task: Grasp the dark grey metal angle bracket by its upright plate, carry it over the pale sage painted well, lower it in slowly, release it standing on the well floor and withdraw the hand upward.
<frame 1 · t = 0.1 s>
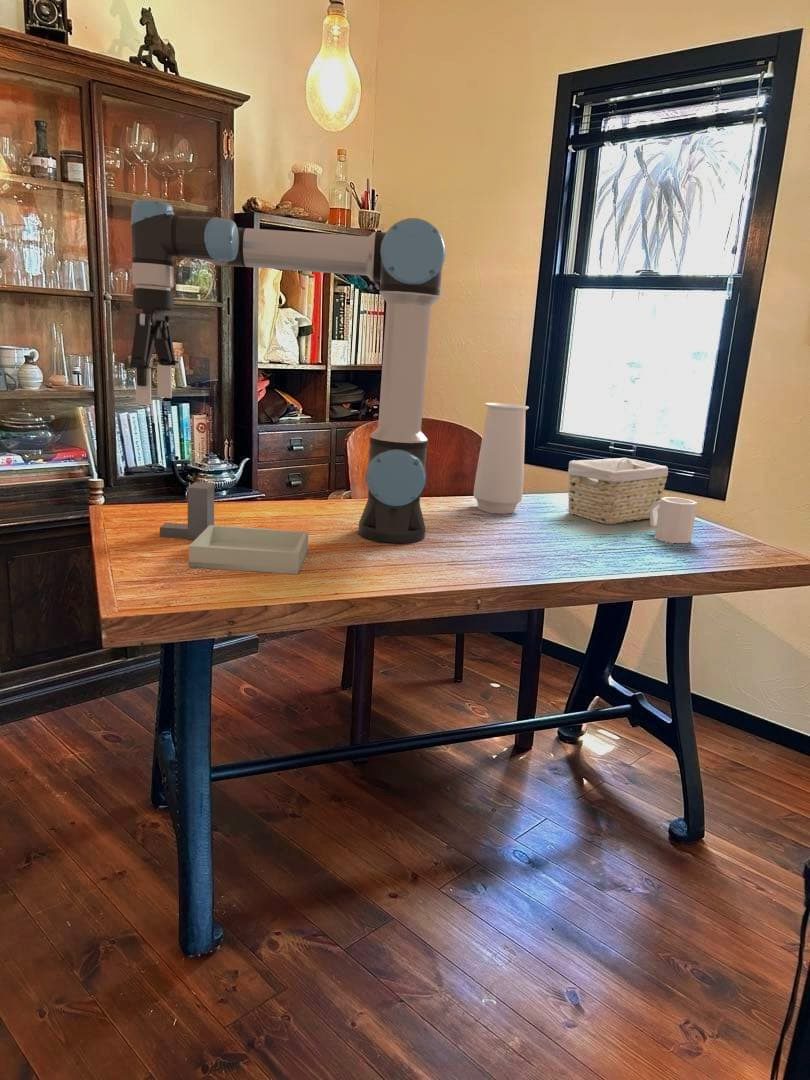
hand: (154, 400, 153), 28 cm above the table, fingers open, 13 cm apart
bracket: (201, 536, 162), on the table
mug: (665, 538, 190), on the table
vase: (496, 510, 208), on the table
storage basket: (611, 517, 210), on the table
well: (251, 558, 149), on the table
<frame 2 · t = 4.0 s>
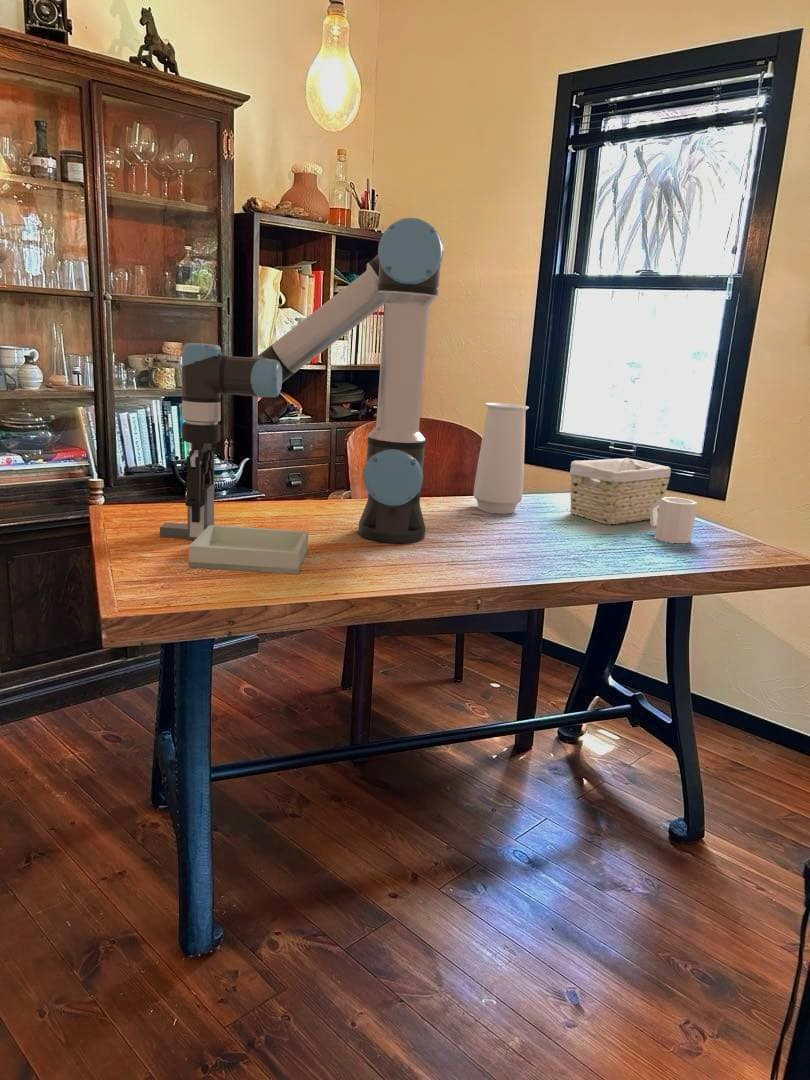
hand: (201, 532, 161), 1 cm above the table, fingers closed on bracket, 6 cm apart
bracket: (201, 536, 162), on the table, touching gripper
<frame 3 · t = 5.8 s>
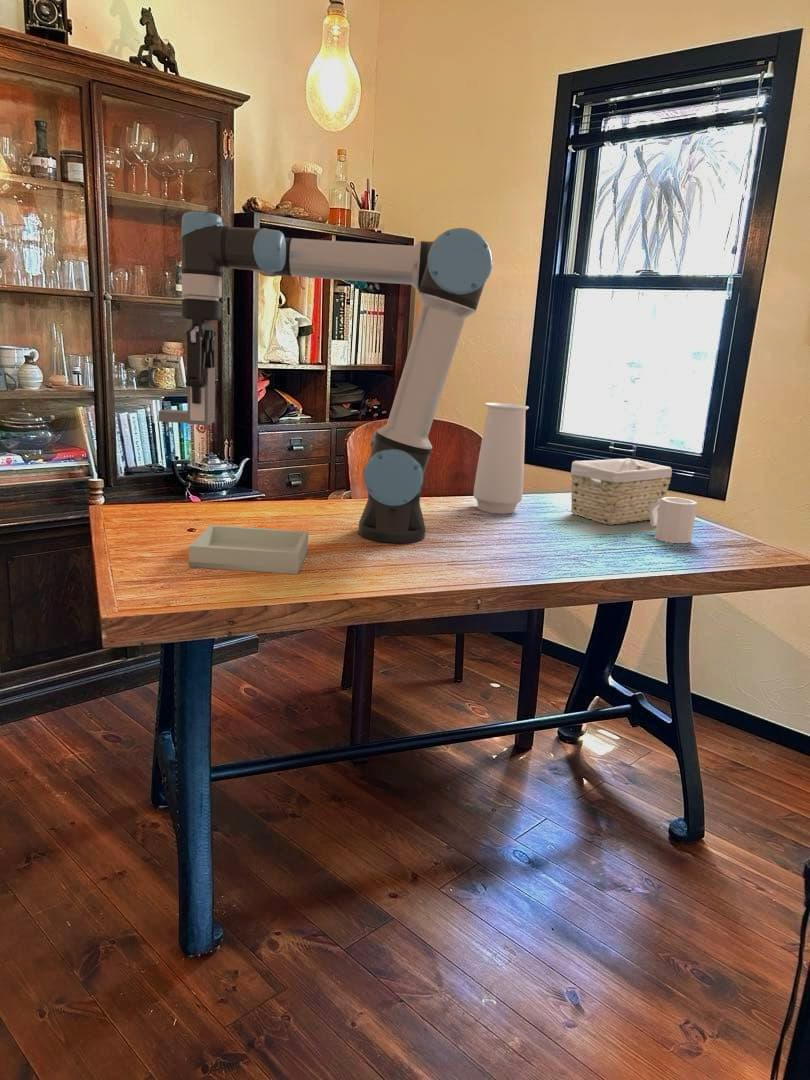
hand: (201, 418, 155), 25 cm above the table, fingers closed on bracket, 6 cm apart
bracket: (201, 422, 155), point 24 cm above the table, touching gripper
everything else where it was.
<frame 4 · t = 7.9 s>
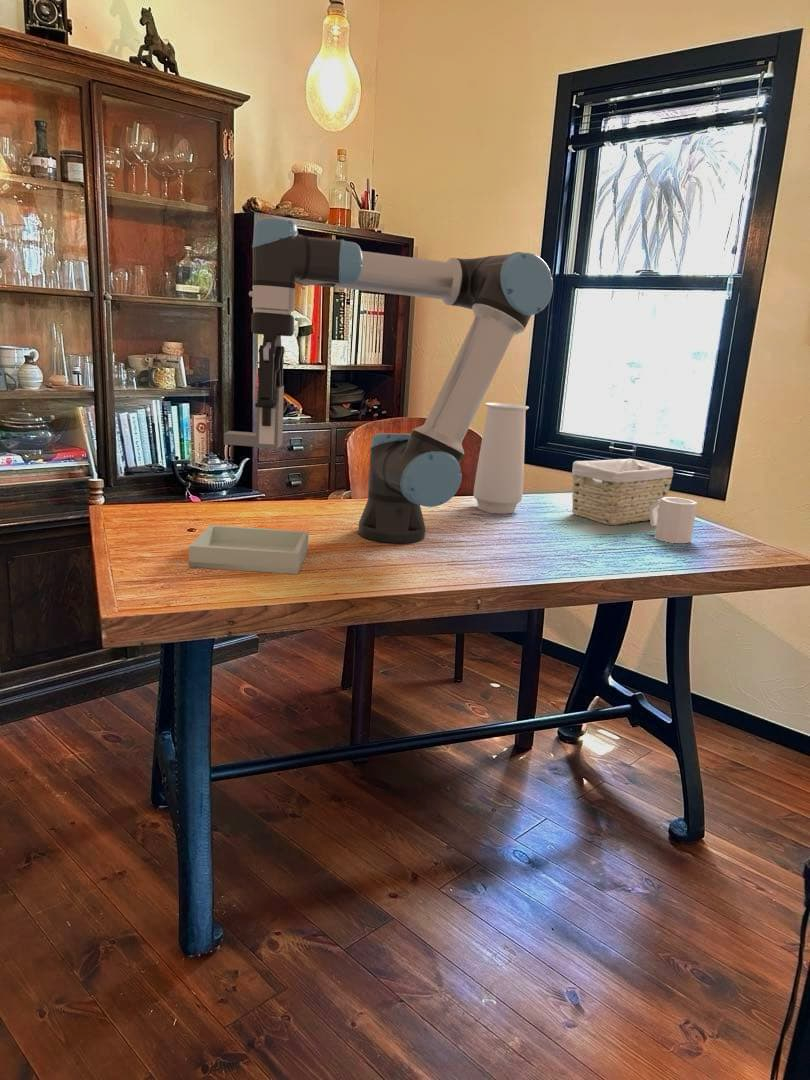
hand: (269, 441, 143), 23 cm above the table, fingers closed on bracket, 6 cm apart
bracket: (269, 445, 144), point 22 cm above the table, touching gripper
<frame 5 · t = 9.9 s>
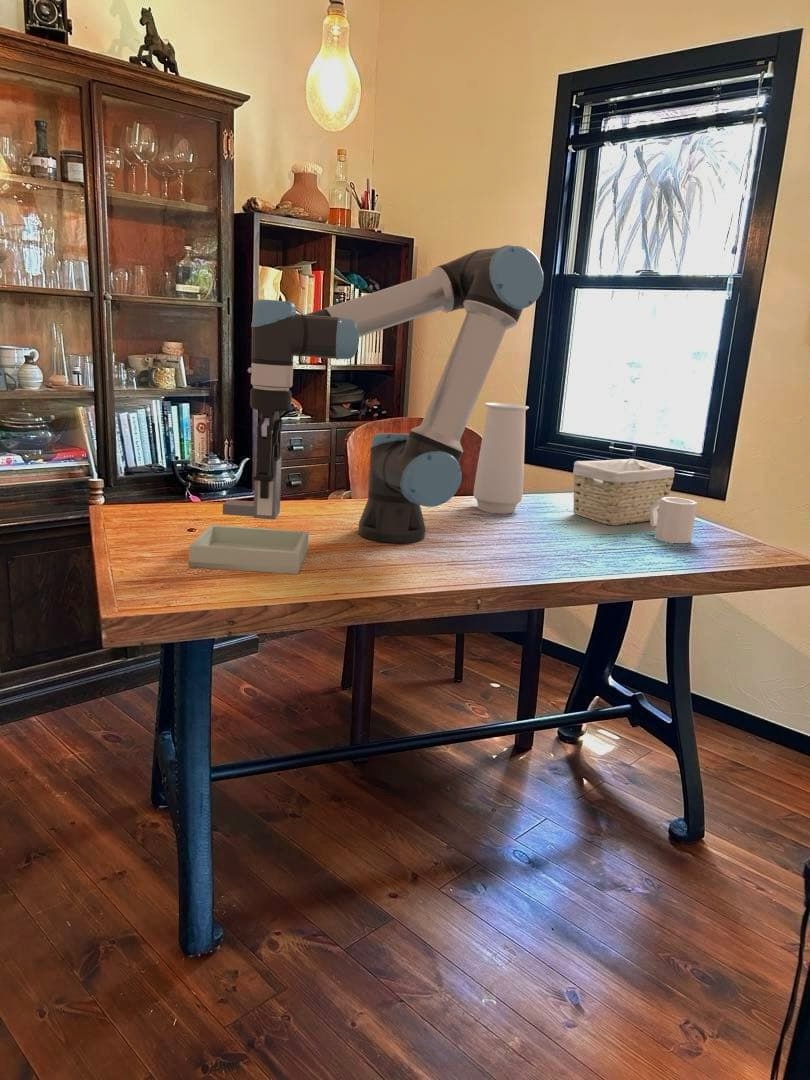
hand: (267, 510, 147), 10 cm above the table, fingers closed on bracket, 6 cm apart
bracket: (266, 515, 147), point 9 cm above the table, touching gripper
when the fingers open (4 cm above the table, at t = 11.9 s): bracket drops 2 cm, resting on well.
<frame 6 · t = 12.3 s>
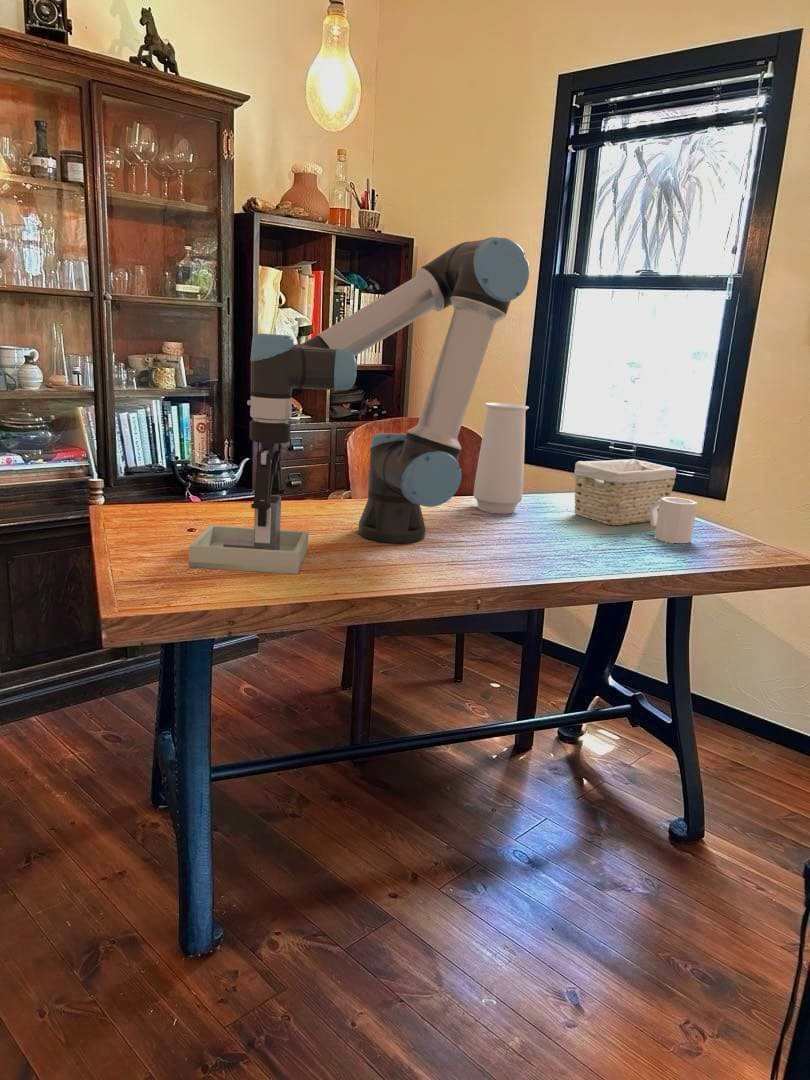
hand: (267, 534, 148), 5 cm above the table, fingers open, 11 cm apart
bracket: (266, 554, 149), point 1 cm above the table, touching well
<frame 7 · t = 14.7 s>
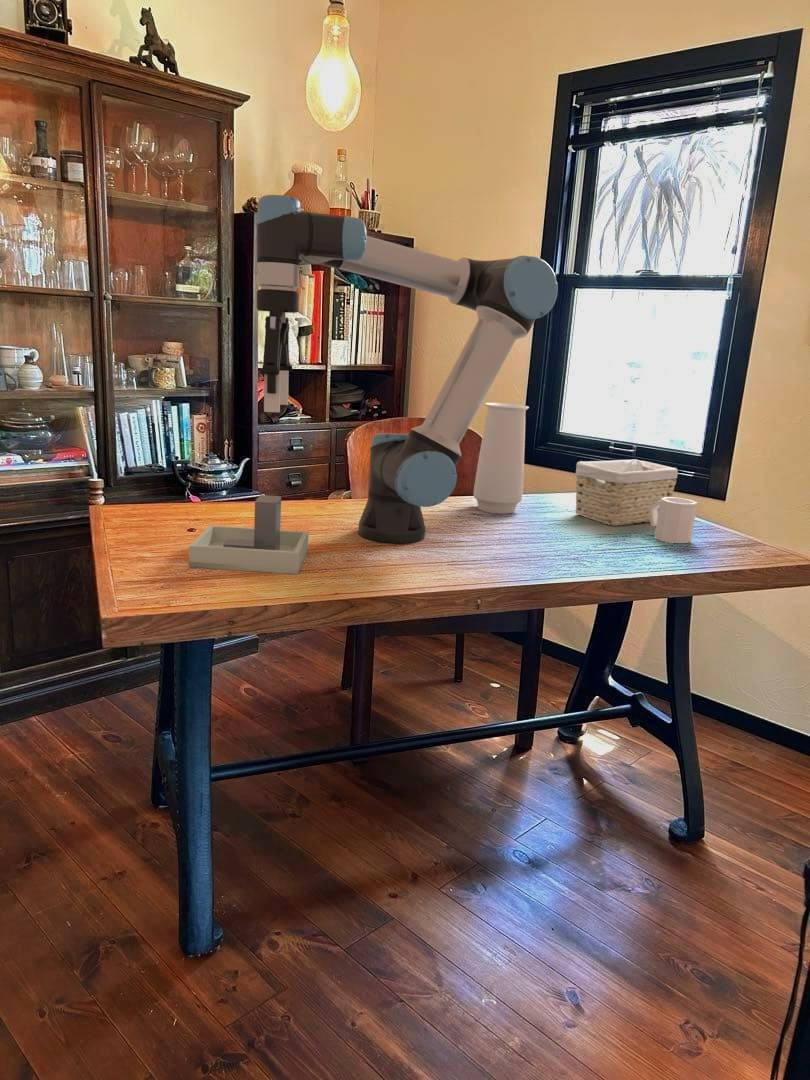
hand: (276, 408, 144), 29 cm above the table, fingers open, 13 cm apart
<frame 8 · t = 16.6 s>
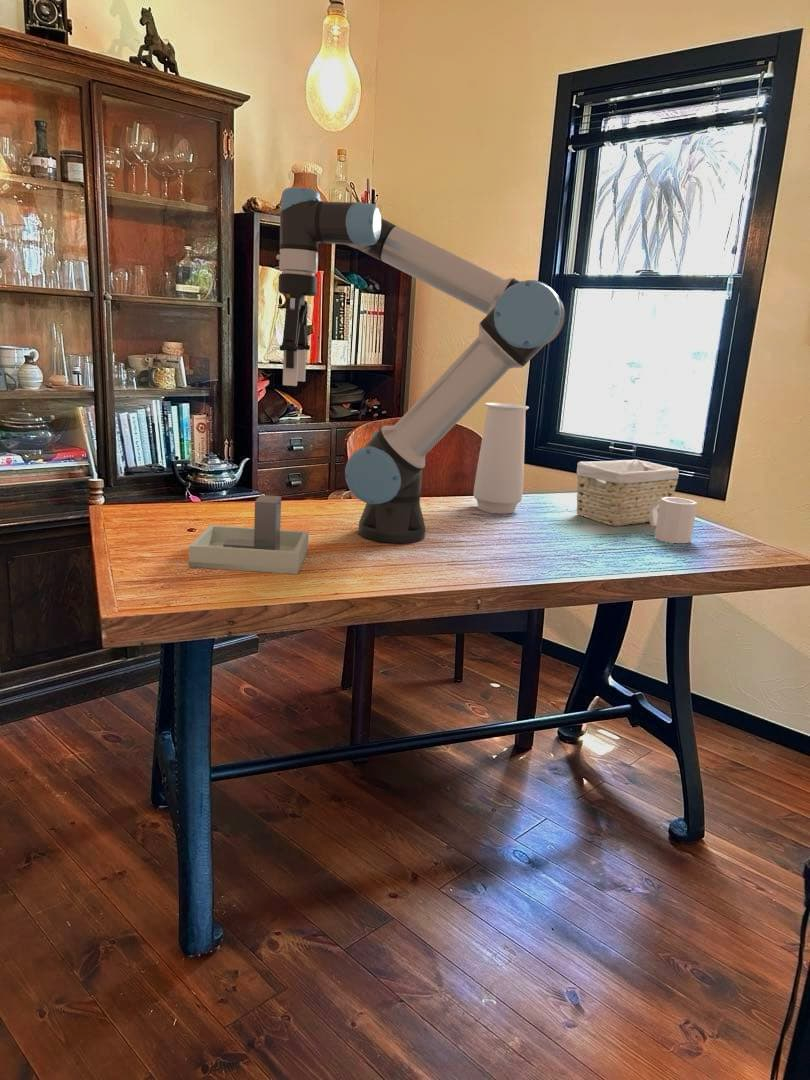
hand: (294, 383, 157), 33 cm above the table, fingers open, 13 cm apart
at the end: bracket inside the target area on the well (3.0 cm from its centre), point 1.0 cm above the well's base; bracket tilted 0°; the gripper is holding nothing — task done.
